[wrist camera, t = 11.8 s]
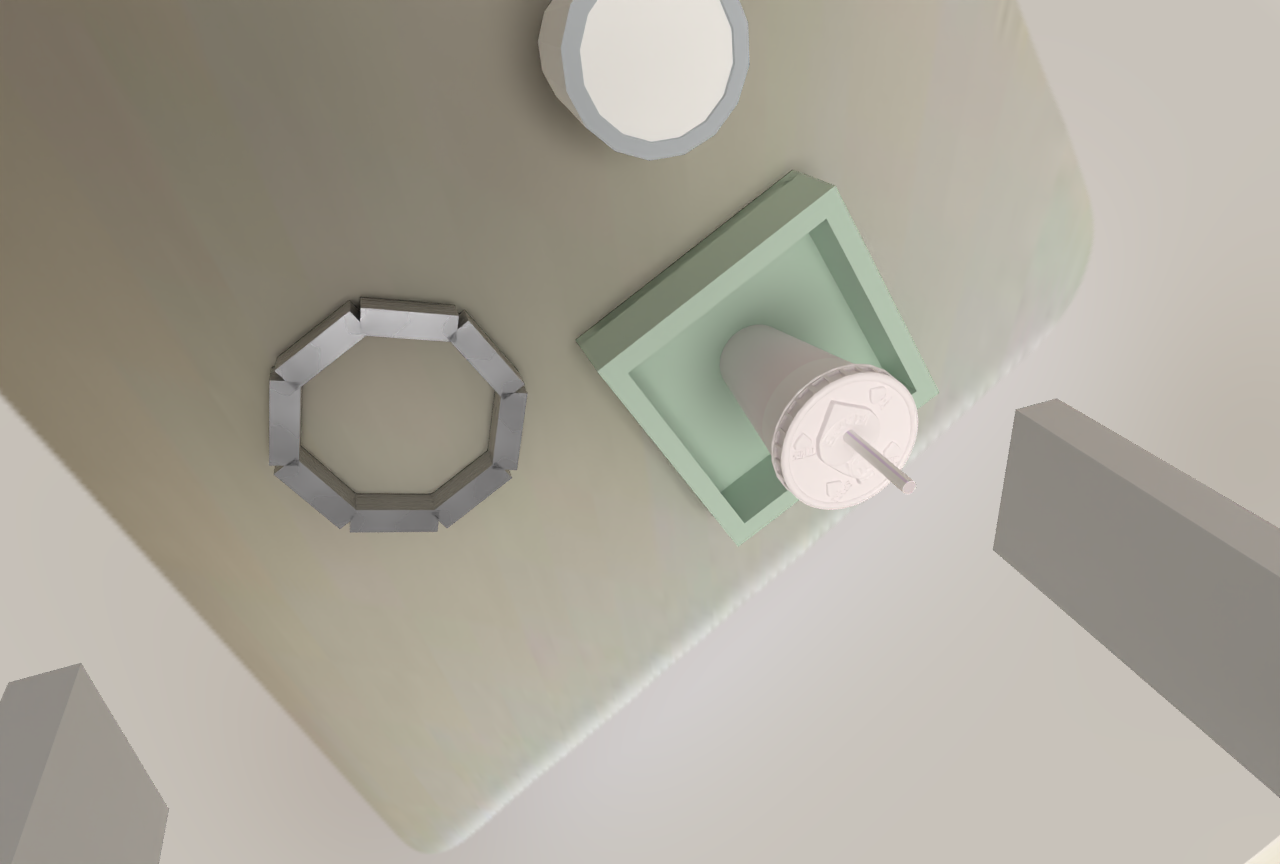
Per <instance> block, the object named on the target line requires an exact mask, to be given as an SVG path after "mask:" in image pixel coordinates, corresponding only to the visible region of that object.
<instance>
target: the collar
mask: <svg viewBox="0 0 1280 864" xmlns="http://www.w3.org/2000/svg"><path fill="white" fill-rule="evenodd" d="M365 336H376V337H391V338H405V339H419V340H433V341H447V342H451V343H452V344H453V345H454V346H455V347H456V348H457V349H458V350H459V351H460V353H461V354H462V355H463V356H464V357H465V358H466V359H467V360H468V361H469V362H470V364H471V365H472V366H473V367H474V368H475V369H476V370H477V371H478V372H479V373H480V375H481V376H482V377H483V378H484V379H485V380H486V381H487V382H488V383H489V384H490V385H491V387H492V388H493V389H494V390H495V396H494V404H493V412H492V420H491V428H490V437H489V445H488V451H487V452H485V453H484V454H483V455H482V456H480V457H479V458H478V459H476V460H475V461H474V462H473V463H471V464H470V465H469V466H467V467H466V468H465V469H464V470H462V471H461V472H460V473H458V474H457V475H456V476H455V477H453V478H452V479H451V480H450V481H448V482H447V483H446V484H444V485H443V486H442V487H441V488H439V489H438V490H437V491H435V492H434V493H433V494H355V493H354V492H353V491H352V490H351V489H350V488H349V487H347V486H346V485H345V484H344V483H343V482H342V481H341V480H339V479H338V478H337V477H336V476H335V475H334V474H332V473H331V472H330V471H329V470H328V469H327V468H326V467H324V466H323V465H322V464H321V463H320V462H319V461H317V460H316V459H315V458H314V457H313V456H312V455H311V454H309V453H308V452H307V451H306V450H305V449H304V448H303V447H301V402H302V386H303V385H304V384H305V383H307V382H308V381H309V380H310V379H312V378H313V377H314V376H315V375H317V374H318V373H319V372H320V371H322V370H323V369H324V368H326V367H327V366H328V365H329V364H331V363H332V362H333V361H334V360H336V359H337V358H338V357H339V356H341V355H342V354H343V353H344V352H346V351H347V350H348V349H350V348H351V347H352V346H353V345H355V344H356V343H357V342H358V341H360V340H361V339H362V338H363V337H365ZM524 385H525V384H524V382H523V380H522V378H521V376H520V374H519V372H518V371H517V370H516V368H515V367H514V366H513V365H512V364H511V363H510V362H509V360H508V359H507V358H506V357H505V356H504V355H503V354H502V352H501V351H500V350H499V349H498V348H497V347H496V346H495V344H494V343H493V342H492V341H491V340H490V339H489V338H488V336H487V335H486V334H485V333H484V332H483V331H482V330H481V328H480V327H479V326H478V325H477V324H476V323H475V322H474V320H473V319H472V318H471V317H470V316H469V315H468V314H467V312H466V311H465V310H464V311H462V312H461V313H460V314H459V315H458V312H457V310H456V307H455V305H447V304H435V303H423V302H411V301H400V300H388V299H376V298H365V297H360V311H359V310H358V309H357V308H356V307H355V306H354V305H353V304H352V303H351V302H350V300H349V301H348V302H347V303H345V304H344V305H343V306H342V307H340V308H339V309H338V310H337V311H335V312H334V313H333V314H331V315H330V316H329V317H328V318H326V319H325V320H324V321H323V322H321V323H320V324H319V325H318V326H316V327H315V328H314V329H313V330H311V331H310V332H309V333H308V334H306V335H305V336H304V337H302V338H301V339H300V340H299V341H297V342H296V343H295V344H294V345H292V346H291V347H290V348H289V349H287V350H286V351H285V352H284V353H282V354H281V355H280V356H279V357H277V360H276V365H275V367H272V371H271V376H270V400H269V465H273V466H275V469H274V475H275V476H276V477H277V478H279V479H280V480H281V481H282V482H284V483H285V484H286V485H287V486H288V487H290V488H291V489H292V490H293V491H294V492H296V493H297V494H298V495H299V496H300V497H302V498H303V499H304V500H305V501H307V502H308V503H309V504H310V505H311V506H313V507H314V508H315V509H316V510H317V511H319V512H320V513H321V514H322V515H323V516H325V517H326V518H327V519H328V520H330V521H331V522H332V523H333V524H334V525H336V526H337V527H338V528H339V529H341V528H342V527H343V526H344V525H346V524H347V523H348V522H350V532H437V531H438V521H440V522H441V523H442V524H443V525H444V526H445V527H446V528H448V527H449V526H451V525H452V524H453V523H455V522H456V521H457V520H458V519H460V518H461V517H462V516H464V515H465V514H466V513H467V512H469V511H470V510H471V509H473V508H474V507H475V506H476V505H478V504H479V503H480V502H482V501H483V500H484V499H485V498H487V497H488V496H489V495H491V494H492V493H493V492H494V491H496V490H497V489H498V488H500V487H501V486H502V485H503V484H505V483H506V482H507V481H509V480H510V479H511V478H512V477H511V474H510V471H509V470H517V465H518V458H519V450H520V443H521V436H522V429H523V422H524V414H525V407H526V400H527V392H526V389H525V387H524Z"/></svg>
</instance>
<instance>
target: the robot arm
mask: <svg viewBox="0 0 1280 864" xmlns="http://www.w3.org/2000/svg"><path fill="white" fill-rule="evenodd" d="M993 550H994V551H995V552H996V553H997V554H998V555H1000V556H1001V557H1002V558H1003V559H1004V560H1005V561H1007V562H1008V563H1009V564H1010V565H1011V566H1012V567H1014V568H1015V569H1016V570H1017V571H1018V572H1019V573H1021V574H1022V575H1023V576H1024V577H1025V578H1026V579H1027V580H1029V581H1030V582H1031V583H1032V584H1033V585H1034V586H1036V587H1037V588H1038V589H1039V590H1040V591H1041V592H1043V593H1044V594H1045V595H1046V596H1047V597H1048V598H1049V599H1051V600H1052V601H1053V602H1054V603H1055V604H1057V606H1059V607H1060V608H1061V609H1062V610H1063V611H1065V612H1066V613H1067V614H1068V615H1069V616H1070V617H1071V618H1072V619H1074V620H1075V621H1076V622H1077V623H1078V624H1079V625H1081V626H1082V627H1083V628H1084V629H1085V630H1086V631H1088V632H1089V633H1090V634H1091V635H1092V636H1093V637H1094V638H1096V639H1097V640H1098V641H1099V642H1100V643H1101V644H1103V645H1104V646H1105V647H1106V648H1107V649H1108V650H1110V651H1111V652H1112V653H1113V654H1114V655H1115V656H1116V657H1118V658H1119V659H1120V660H1121V661H1122V662H1123V663H1125V664H1126V665H1127V666H1128V667H1129V668H1131V670H1133V671H1134V672H1135V673H1136V674H1137V675H1138V676H1140V677H1141V678H1142V679H1143V680H1144V681H1145V682H1147V683H1148V684H1149V685H1150V686H1151V687H1152V688H1154V689H1155V690H1156V691H1157V692H1158V693H1159V694H1160V695H1162V696H1163V697H1164V698H1165V699H1166V700H1167V701H1168V702H1170V703H1171V704H1172V705H1173V706H1174V707H1176V708H1177V709H1178V710H1179V711H1180V712H1181V713H1182V714H1184V715H1185V716H1186V717H1187V718H1188V719H1189V720H1190V721H1192V722H1193V723H1194V724H1195V725H1196V726H1197V727H1199V728H1200V729H1201V730H1202V731H1203V732H1204V733H1206V734H1207V735H1208V736H1209V737H1210V738H1211V739H1212V740H1214V741H1215V742H1216V743H1217V744H1218V745H1219V746H1221V747H1222V748H1223V749H1224V750H1225V751H1226V752H1227V753H1229V754H1230V755H1231V756H1232V757H1233V758H1234V759H1236V760H1237V761H1238V762H1239V763H1240V764H1241V765H1242V766H1244V767H1245V768H1246V769H1247V770H1248V771H1249V772H1251V773H1252V774H1253V775H1254V776H1255V777H1256V778H1258V779H1259V780H1260V781H1261V782H1262V783H1263V784H1264V785H1266V786H1267V787H1268V788H1269V789H1270V790H1271V791H1273V792H1274V793H1275V794H1276V795H1277V796H1279V798H1280V528H1278V527H1276V526H1274V525H1273V524H1271V523H1269V522H1268V521H1266V520H1264V519H1262V518H1261V517H1259V516H1257V515H1256V514H1254V513H1252V512H1250V511H1249V510H1247V509H1245V508H1244V507H1242V506H1240V505H1238V504H1237V503H1235V502H1233V501H1232V500H1230V499H1228V498H1227V497H1225V496H1223V495H1221V494H1219V493H1218V492H1216V491H1215V490H1213V489H1211V488H1209V487H1207V486H1206V485H1204V484H1202V483H1201V482H1199V481H1197V480H1196V479H1194V478H1192V477H1191V476H1189V475H1187V474H1185V473H1184V472H1182V471H1180V470H1179V469H1177V468H1175V467H1173V466H1172V465H1170V464H1168V463H1167V462H1165V461H1163V460H1161V459H1160V458H1158V457H1156V456H1155V455H1153V454H1151V453H1149V452H1148V451H1146V450H1144V449H1143V448H1141V447H1139V446H1137V445H1136V444H1134V443H1132V442H1131V441H1129V440H1127V439H1125V438H1124V437H1122V436H1120V435H1119V434H1117V433H1115V432H1113V431H1112V430H1110V429H1108V428H1107V427H1105V426H1103V425H1101V424H1100V423H1098V422H1096V421H1095V420H1093V419H1091V418H1089V417H1088V416H1086V415H1084V414H1083V413H1081V412H1079V411H1077V410H1076V409H1074V408H1072V407H1071V406H1069V405H1067V404H1066V403H1064V402H1062V401H1060V400H1059V399H1053V400H1050V401H1046V402H1042V403H1038V404H1034V405H1031V406H1027V407H1023V408H1020V409H1016V411H1015V417H1014V423H1013V429H1012V435H1011V442H1010V448H1009V454H1008V460H1007V467H1006V472H1005V478H1004V485H1003V491H1002V497H1001V503H1000V509H999V516H998V522H997V528H996V534H995V540H994V546H993ZM168 811H169V808H168V807H167V805H166V803H165V802H164V800H163V798H162V797H161V795H160V793H159V792H158V790H157V789H156V787H155V785H154V783H153V782H152V780H151V779H150V777H149V775H148V774H147V772H146V770H145V769H144V767H143V765H142V764H141V762H140V760H139V759H138V757H137V755H136V754H135V752H134V750H133V749H132V747H131V746H130V744H129V742H128V740H127V739H126V737H125V735H124V734H123V732H122V730H121V729H120V727H119V725H118V724H117V722H116V720H115V719H114V717H113V715H112V714H111V712H110V710H109V709H108V707H107V705H106V704H105V702H104V701H103V699H102V697H101V695H100V694H99V692H98V690H97V689H96V687H95V685H94V684H93V682H92V680H91V679H90V677H89V675H88V674H87V672H86V670H85V669H84V667H83V665H82V664H81V663H79V664H76V665H72V666H68V667H65V668H61V669H57V670H53V671H50V672H46V673H42V674H38V675H35V676H31V677H27V678H24V679H20V680H17V681H13V682H9V683H8V685H7V687H6V690H5V692H4V694H3V697H2V699H1V701H0V864H159V861H160V855H161V849H162V844H163V839H164V833H165V827H166V822H167V817H168Z"/></svg>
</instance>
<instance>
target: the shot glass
mask: <svg viewBox="0 0 1280 864" xmlns="http://www.w3.org/2000/svg"><path fill="white" fill-rule="evenodd" d="M538 47H539V54H540V60H541V67H542V72H543V74H544V76H545V77H546V79H547V81H548V83H549V85H550V86H551V88H552V90H553V92H554V94H555V96H556V97H557V98H558V99H559V100H560V101H561V102H562V103H563V104H564V105H565V106H566V107H567V108H568V109H569V110H570V111H571V112H572V114H573V115H574V116H575V117H576V118H577V119H578V120H579V121H580V122H581V123H582V124H583V125H584V126H585V127H586V128H587V129H588V130H590V131H591V132H592V133H593V134H595V135H596V136H597V137H598V138H599V139H601V140H602V141H603V142H604V143H606V144H607V145H608V146H609V147H610V148H612V149H613V150H614V151H616V152H619V153H623V154H627V155H631V156H634V157H638V158H642V159H646V160H649V161H650V160H656V159H662V158H668V157H673V156H679V155H685V154H686V153H688V152H689V151H691V150H692V149H694V148H695V147H697V146H698V145H700V144H702V143H703V142H705V141H706V140H708V139H709V138H711V137H712V136H714V135H715V134H716V133H717V131H718V130H719V129H720V127H721V126H722V124H723V123H724V122H725V120H726V119H727V118H728V116H729V115H730V113H731V112H732V111H733V109H734V108H735V107H736V105H737V104H738V101H739V98H740V94H741V91H742V88H743V84H744V81H745V78H746V75H747V71H748V68H749V65H750V63H749V35H748V21H747V19H746V16H745V14H744V11H743V9H742V6H741V4H740V1H739V0H552V1H551V3H550V4H549V6H548V7H547V9H546V10H545V12H544V15H543V19H542V24H541V29H540V34H539V38H538Z"/></svg>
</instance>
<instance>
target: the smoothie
mask: <svg viewBox="0 0 1280 864" xmlns="http://www.w3.org/2000/svg"><path fill="white" fill-rule="evenodd" d="M720 372H721V375H722V378H723V380H724V381H725V383H726V384H727V386H728V388H729V389H730V391H731V392H732V394H733V395H734V397H735V399H736V400H737V402H738V403H739V405H740V406H741V408H742V410H743V411H744V413H745V414H746V416H747V417H748V419H749V420H750V422H751V424H752V425H753V427H754V428H755V430H756V431H757V433H758V435H759V436H760V438H761V439H762V441H763V442H764V444H765V446H766V447H767V449H768V451H769V452H770V454H771V461H772V464H773V467H774V470H775V473H776V476H777V478H778V479H779V480H780V482H781V483H782V484H783V486H784V487H785V488H786V489H787V490H788V491H790V492H791V493H792V494H793V495H794V496H795V497H796V498H797V499H799V500H800V501H802V502H803V503H805V504H807V505H809V506H811V507H815V508H818V509H826V510H835V509H843V508H847V507H851V506H854V505H857V504H859V503H862V502H864V501H866V500H868V499H869V498H871V497H873V496H875V495H876V494H877V493H878V492H880V491H881V490H882V489H884V488H885V487H886V486H887V485H888V484H889V483H890V482H892V483H893V484H894V485H895V486H896V487H897V488H899V489H900V490H901V491H902V492H903V493H904V494H910V493H912V492H913V491H914V490H915V488H916V483H915V482H914V481H913V480H912V479H911V478H909V477H908V476H907V475H906V474H904V473H903V472H902V471H901V469H902V468H903V467H904V465H905V463H906V462H907V460H908V458H909V456H910V454H911V452H912V449H913V447H914V444H915V441H916V436H917V431H918V413H917V408H916V404H915V401H914V399H913V397H912V395H911V394H910V392H909V391H908V390H907V388H906V387H905V386H904V385H903V384H902V383H900V382H899V381H898V380H897V379H895V378H894V377H893V376H892V375H891V374H889V373H888V372H887V371H886V370H884V369H881V368H878V367H875V366H873V365H870V364H853V363H851V362H849V361H846V360H844V359H842V358H839V357H837V356H835V355H833V354H830V353H828V352H826V351H824V350H822V349H819V348H817V347H815V346H813V345H810V344H808V343H806V342H804V341H802V340H799V339H797V338H795V337H793V336H790V335H788V334H786V333H784V332H782V331H779V330H777V329H775V328H773V327H770V326H767V325H762V324H757V325H751V326H748V327H745V328H743V329H741V330H740V331H738V332H737V333H735V334H734V335H733V336H732V337H731V338H730V339H729V341H728V342H727V343H726V345H725V347H724V349H723V351H722V354H721V357H720Z"/></svg>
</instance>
